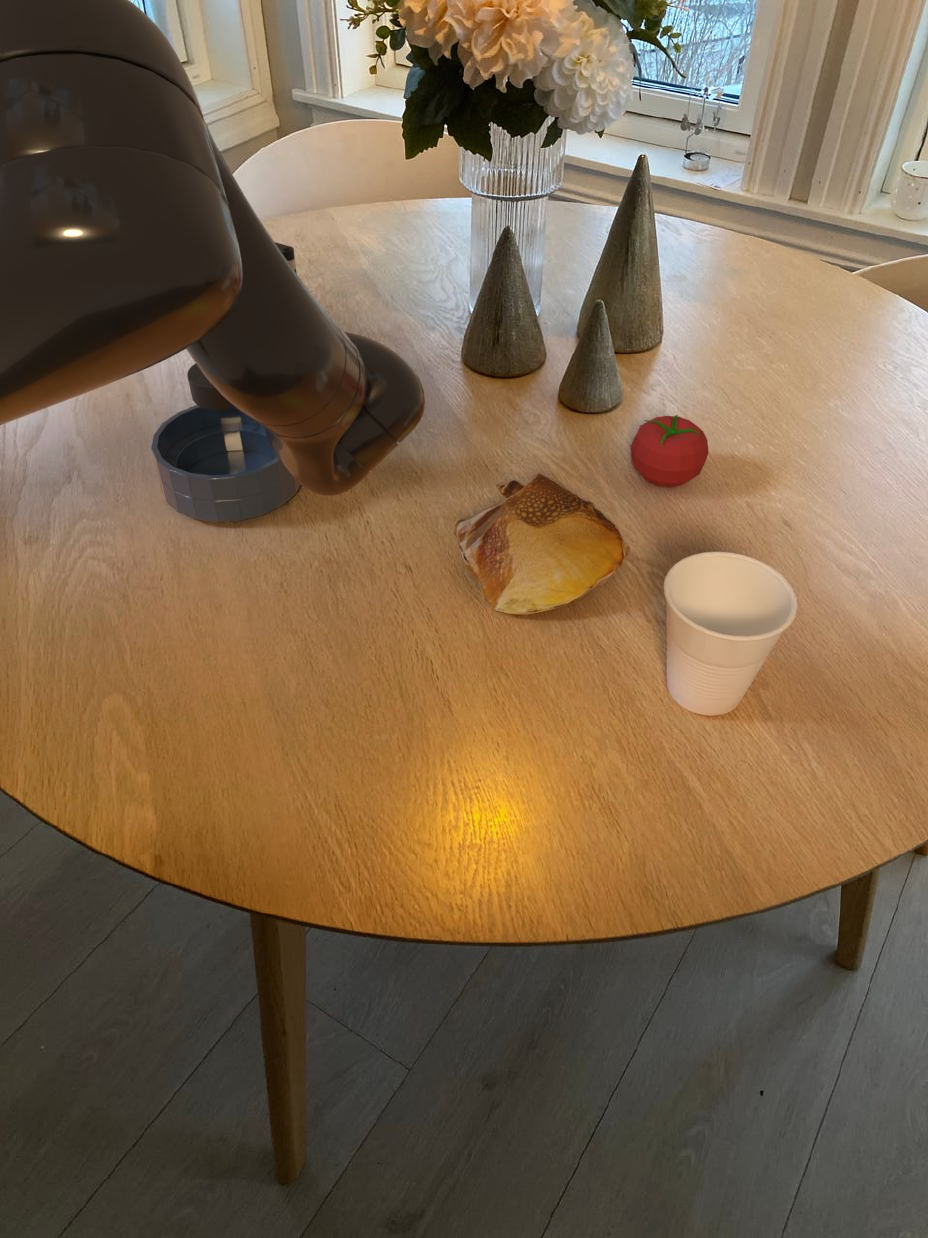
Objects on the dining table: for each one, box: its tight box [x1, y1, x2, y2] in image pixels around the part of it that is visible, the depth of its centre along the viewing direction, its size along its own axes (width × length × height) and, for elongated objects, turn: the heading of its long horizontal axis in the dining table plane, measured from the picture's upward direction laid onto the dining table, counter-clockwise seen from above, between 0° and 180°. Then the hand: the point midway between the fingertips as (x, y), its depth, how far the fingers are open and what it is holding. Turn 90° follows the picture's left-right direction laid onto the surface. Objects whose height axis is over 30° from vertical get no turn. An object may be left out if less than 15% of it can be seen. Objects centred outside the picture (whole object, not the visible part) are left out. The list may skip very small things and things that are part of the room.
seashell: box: [452, 473, 631, 616], centre depth 90 cm, size 17×8×15 cm
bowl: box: [150, 404, 301, 523], centre depth 97 cm, size 14×14×6 cm
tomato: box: [630, 414, 710, 488], centre depth 99 cm, size 8×8×8 cm
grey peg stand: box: [186, 362, 235, 410], centre depth 86 cm, size 6×6×16 cm
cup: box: [663, 551, 798, 717], centre depth 76 cm, size 10×10×11 cm
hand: (186, 238), depth 84 cm, fingers closed on grey peg stand
